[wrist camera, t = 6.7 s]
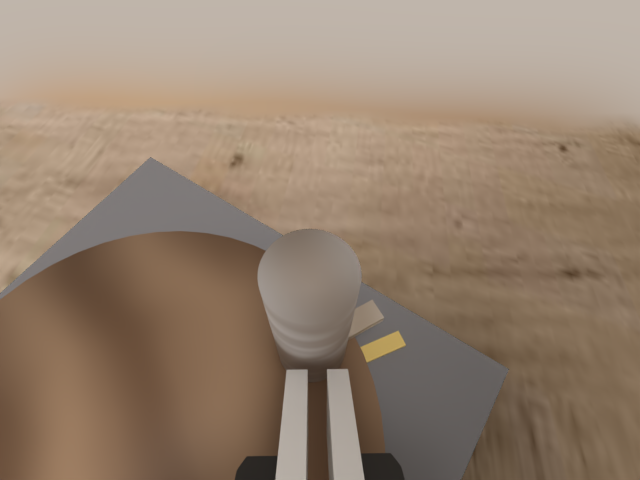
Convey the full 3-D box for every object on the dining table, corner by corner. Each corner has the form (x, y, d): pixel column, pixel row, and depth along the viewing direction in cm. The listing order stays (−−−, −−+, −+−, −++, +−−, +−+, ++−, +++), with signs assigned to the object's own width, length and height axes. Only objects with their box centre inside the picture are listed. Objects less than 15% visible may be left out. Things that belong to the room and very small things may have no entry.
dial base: (160, 176, 29) (149, 155, 27) (494, 377, 23) (510, 368, 21) (-219, 534, 19) (-279, 540, 17) (186, 1069, 13) (163, 1174, 11)
